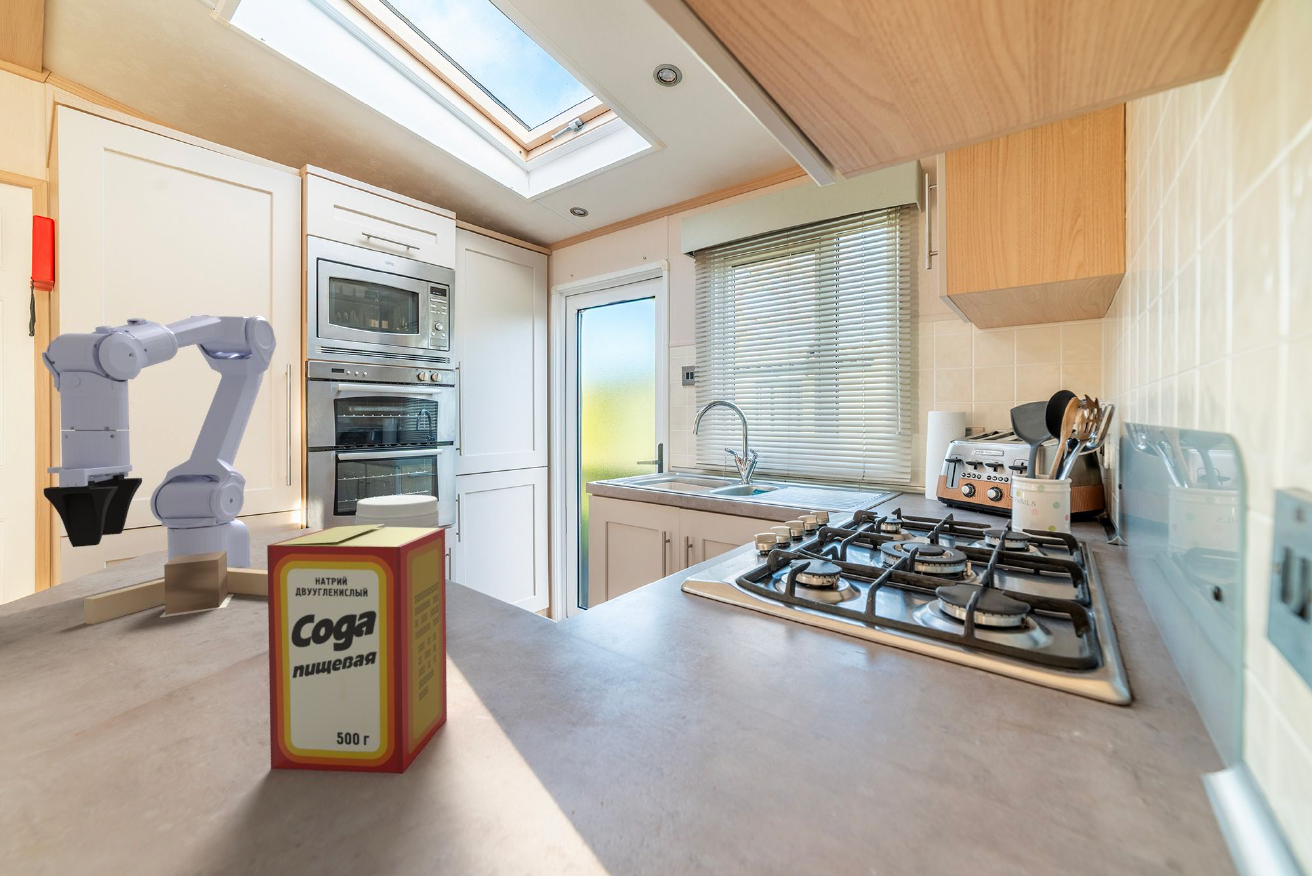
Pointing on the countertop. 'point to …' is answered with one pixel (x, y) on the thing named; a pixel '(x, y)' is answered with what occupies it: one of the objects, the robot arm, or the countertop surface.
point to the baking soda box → (356, 647)
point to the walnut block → (195, 582)
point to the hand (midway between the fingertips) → (98, 539)
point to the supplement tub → (398, 511)
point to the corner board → (154, 595)
